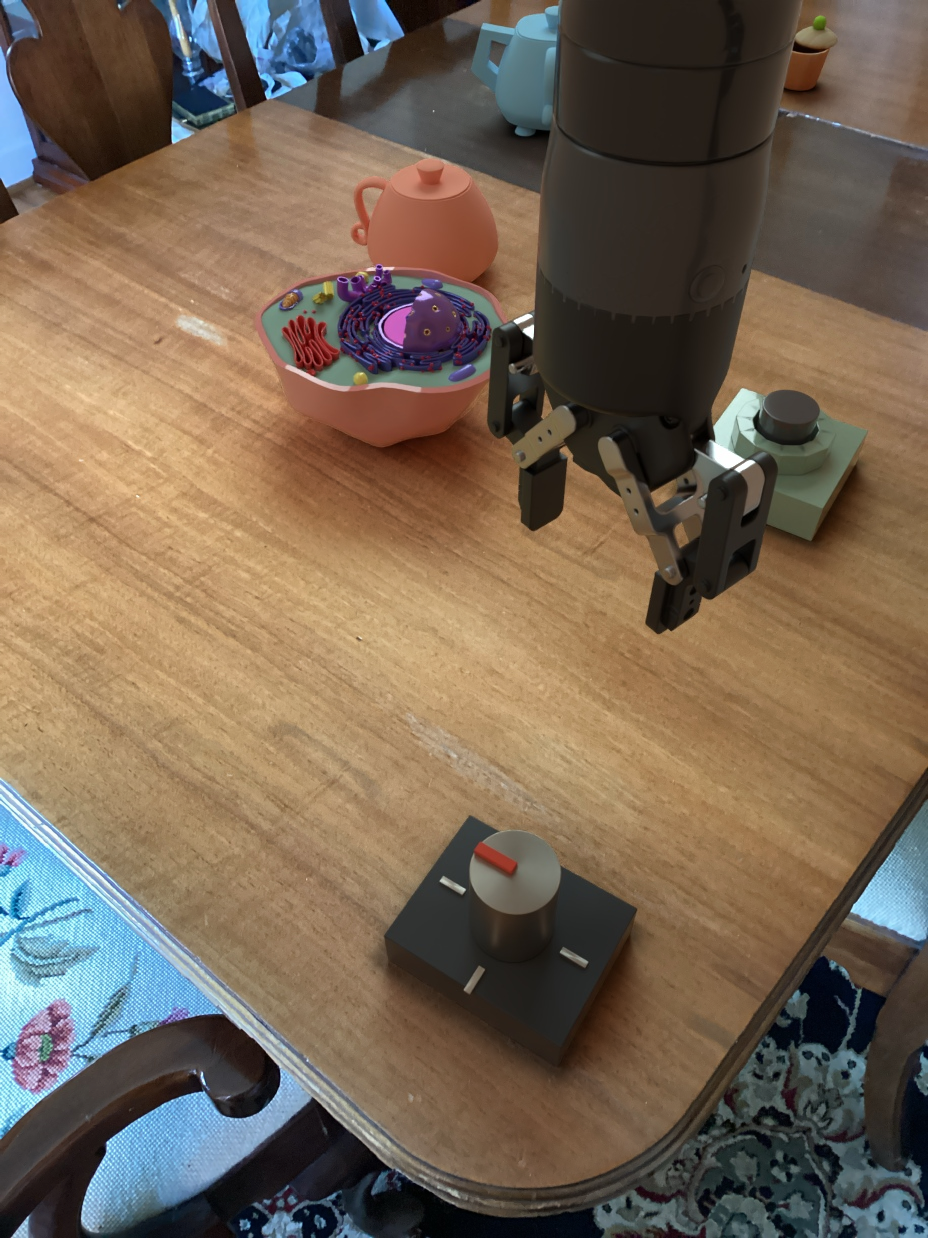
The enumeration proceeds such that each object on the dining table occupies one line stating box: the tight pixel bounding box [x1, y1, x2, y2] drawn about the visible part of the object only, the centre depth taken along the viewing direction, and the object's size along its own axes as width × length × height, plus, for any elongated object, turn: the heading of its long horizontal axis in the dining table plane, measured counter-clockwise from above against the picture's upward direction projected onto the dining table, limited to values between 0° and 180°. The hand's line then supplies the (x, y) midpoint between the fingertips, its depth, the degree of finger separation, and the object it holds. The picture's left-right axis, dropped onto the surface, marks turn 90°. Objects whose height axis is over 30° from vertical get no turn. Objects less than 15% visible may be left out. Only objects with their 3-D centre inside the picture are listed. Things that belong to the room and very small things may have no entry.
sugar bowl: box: [350, 157, 499, 283], centre depth 92 cm, size 12×14×10 cm
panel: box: [383, 814, 638, 1068], centre depth 51 cm, size 10×8×3 cm
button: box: [757, 389, 821, 445], centre depth 71 cm, size 4×4×2 cm
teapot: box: [470, 5, 559, 137], centre depth 112 cm, size 20×17×12 cm
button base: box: [713, 387, 869, 542], centre depth 74 cm, size 10×10×5 cm
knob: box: [469, 829, 562, 962], centre depth 47 cm, size 4×4×6 cm
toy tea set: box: [784, 15, 839, 92], centre depth 123 cm, size 26×16×10 cm, turn 77°
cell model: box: [254, 264, 509, 448], centre depth 77 cm, size 17×20×11 cm
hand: (600, 568), depth 47 cm, fingers open, 8 cm apart
